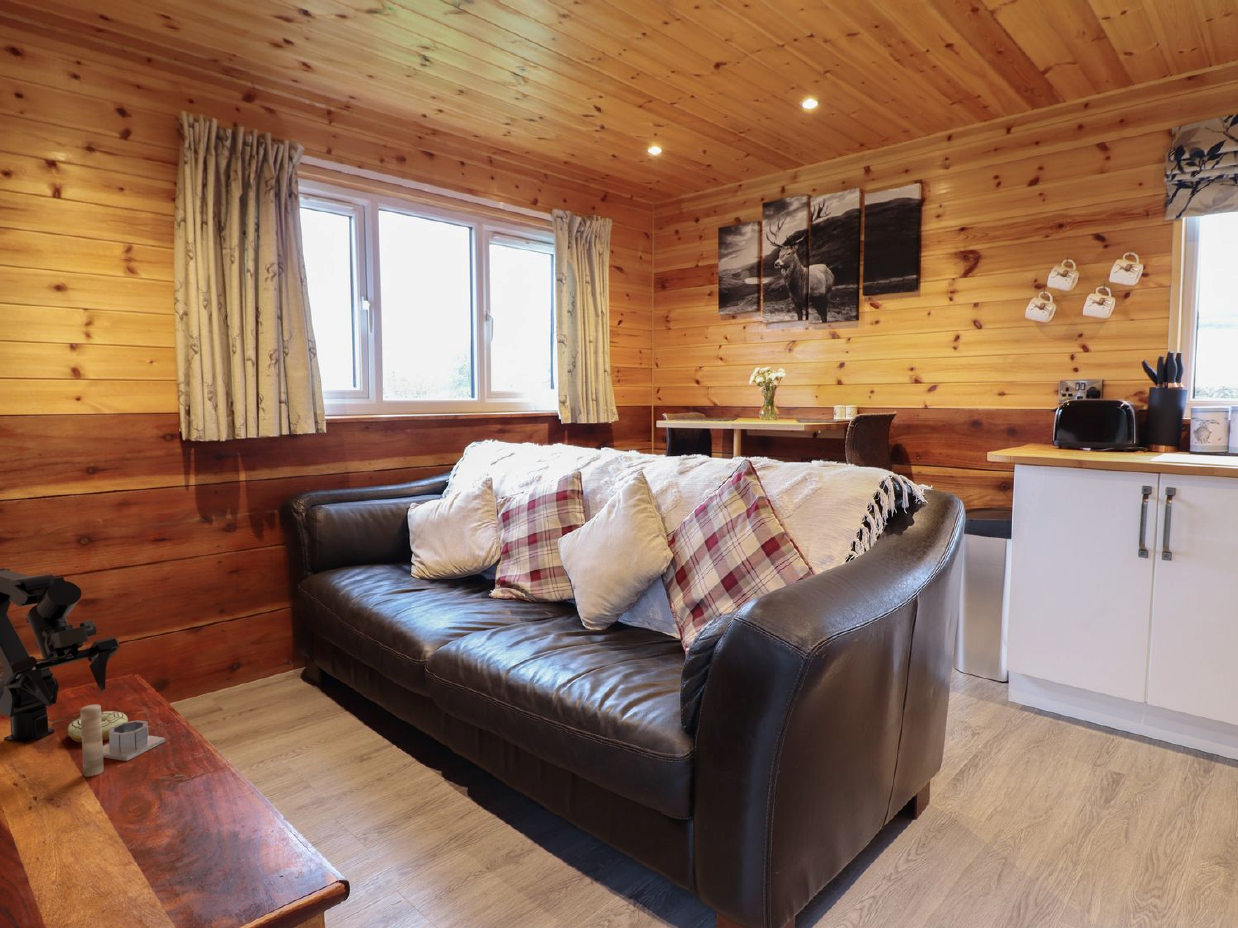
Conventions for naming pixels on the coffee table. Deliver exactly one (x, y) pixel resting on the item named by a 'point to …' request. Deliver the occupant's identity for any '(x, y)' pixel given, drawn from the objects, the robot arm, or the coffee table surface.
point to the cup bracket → (130, 740)
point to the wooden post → (92, 740)
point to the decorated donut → (108, 722)
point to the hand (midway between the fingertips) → (77, 697)
